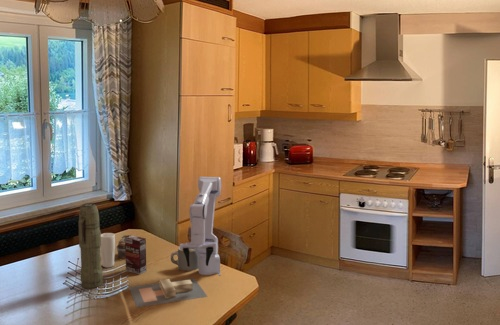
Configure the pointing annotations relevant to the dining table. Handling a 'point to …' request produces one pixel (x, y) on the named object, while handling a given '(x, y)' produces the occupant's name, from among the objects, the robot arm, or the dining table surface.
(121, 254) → the cupcake
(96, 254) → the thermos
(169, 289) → the t block
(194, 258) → the coffee mug
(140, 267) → the supplement box
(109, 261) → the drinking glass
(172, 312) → the dining table surface
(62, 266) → the dining table surface
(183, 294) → the board
